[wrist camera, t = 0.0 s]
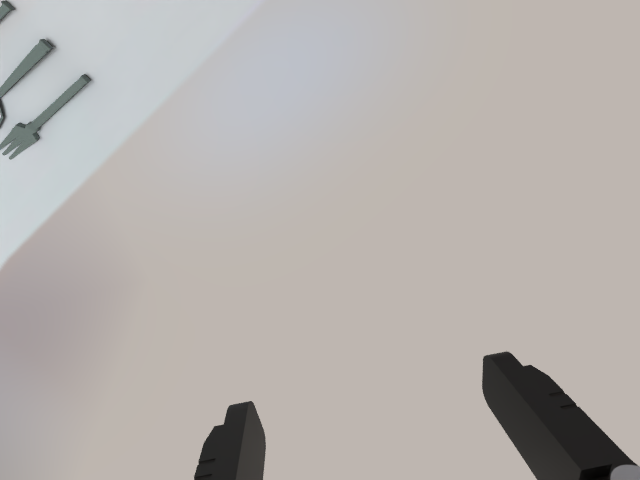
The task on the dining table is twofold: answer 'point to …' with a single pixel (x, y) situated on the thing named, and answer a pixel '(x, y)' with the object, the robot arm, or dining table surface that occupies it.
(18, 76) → the cutlery set
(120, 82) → the dining table surface
